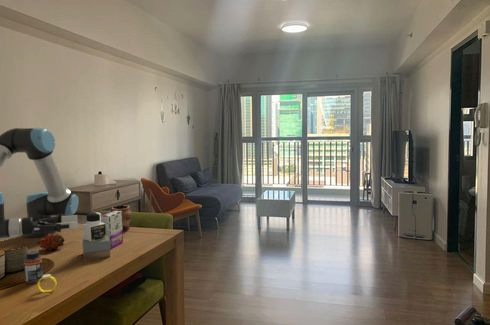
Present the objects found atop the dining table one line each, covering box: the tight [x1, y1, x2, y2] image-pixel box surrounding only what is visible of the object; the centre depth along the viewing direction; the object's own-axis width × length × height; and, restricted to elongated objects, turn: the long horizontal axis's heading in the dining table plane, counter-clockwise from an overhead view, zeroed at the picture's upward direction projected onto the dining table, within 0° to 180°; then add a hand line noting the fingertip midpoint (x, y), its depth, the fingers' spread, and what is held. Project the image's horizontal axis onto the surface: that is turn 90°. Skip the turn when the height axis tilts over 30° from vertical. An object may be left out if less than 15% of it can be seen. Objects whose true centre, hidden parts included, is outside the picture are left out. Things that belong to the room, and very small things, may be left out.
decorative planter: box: [109, 204, 132, 232], centre depth 207 cm, size 20×12×14 cm, turn 9°
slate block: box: [82, 235, 111, 253], centre depth 166 cm, size 11×11×4 cm
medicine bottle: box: [82, 211, 106, 242], centre depth 165 cm, size 7×7×12 cm
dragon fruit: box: [37, 232, 65, 252], centre depth 175 cm, size 8×8×12 cm
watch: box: [36, 273, 58, 294], centre depth 128 cm, size 6×3×6 cm, turn 100°
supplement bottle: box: [23, 250, 44, 285], centre depth 137 cm, size 6×6×11 cm
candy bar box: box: [101, 211, 124, 250], centre depth 180 cm, size 11×5×16 cm, turn 168°
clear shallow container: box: [82, 249, 111, 262], centre depth 166 cm, size 11×11×4 cm
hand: (77, 221), depth 162 cm, fingers open, 13 cm apart
